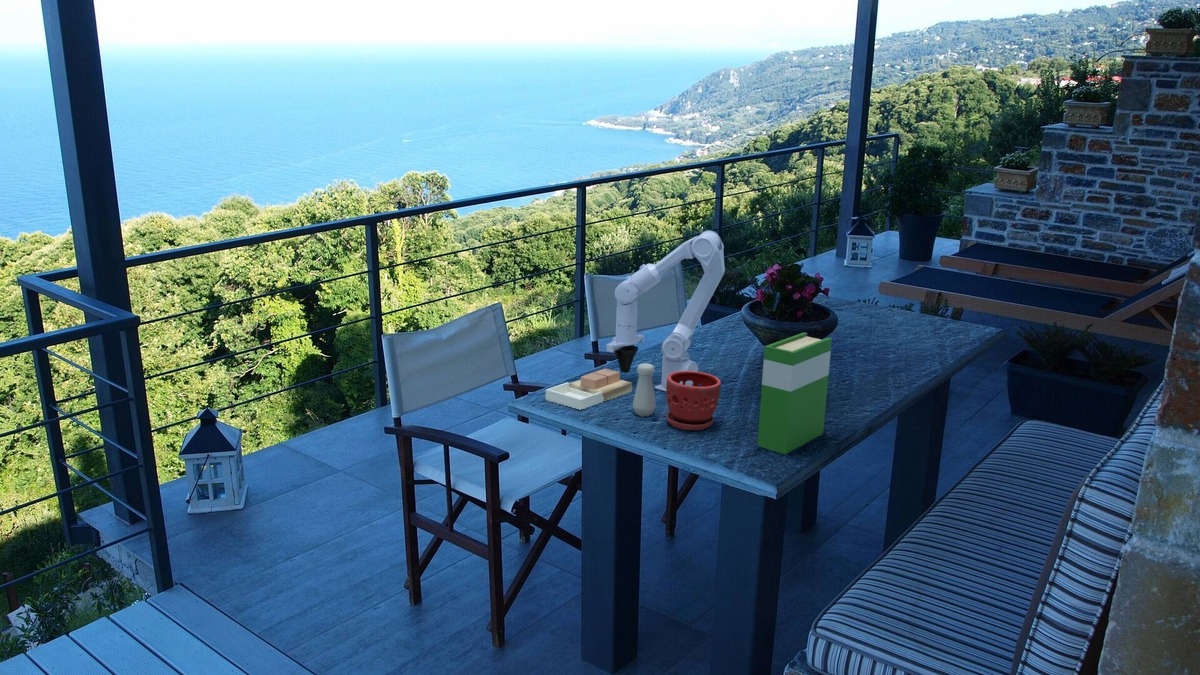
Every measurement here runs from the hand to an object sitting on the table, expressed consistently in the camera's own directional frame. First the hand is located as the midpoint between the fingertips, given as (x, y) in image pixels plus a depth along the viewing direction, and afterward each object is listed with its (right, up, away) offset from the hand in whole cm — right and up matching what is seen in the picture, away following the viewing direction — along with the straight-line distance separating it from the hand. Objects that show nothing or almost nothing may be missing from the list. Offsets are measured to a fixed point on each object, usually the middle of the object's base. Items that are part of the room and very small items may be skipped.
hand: (624, 371), depth 260 cm
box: (-14, -7, -15) cm, 22 cm away
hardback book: (+38, -15, -38) cm, 56 cm away
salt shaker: (+4, -10, -23) cm, 25 cm away
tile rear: (-5, -2, -6) cm, 8 cm away
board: (-7, -5, -7) cm, 11 cm away
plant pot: (+16, -12, -29) cm, 35 cm away
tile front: (-9, -3, -10) cm, 14 cm away
